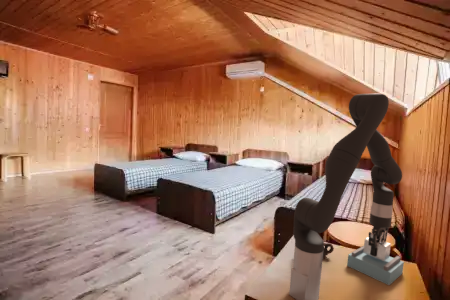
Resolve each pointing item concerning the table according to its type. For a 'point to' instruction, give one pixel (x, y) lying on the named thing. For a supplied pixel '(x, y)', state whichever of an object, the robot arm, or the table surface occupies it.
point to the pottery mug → (327, 250)
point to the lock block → (378, 249)
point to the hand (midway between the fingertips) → (376, 253)
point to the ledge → (376, 266)
